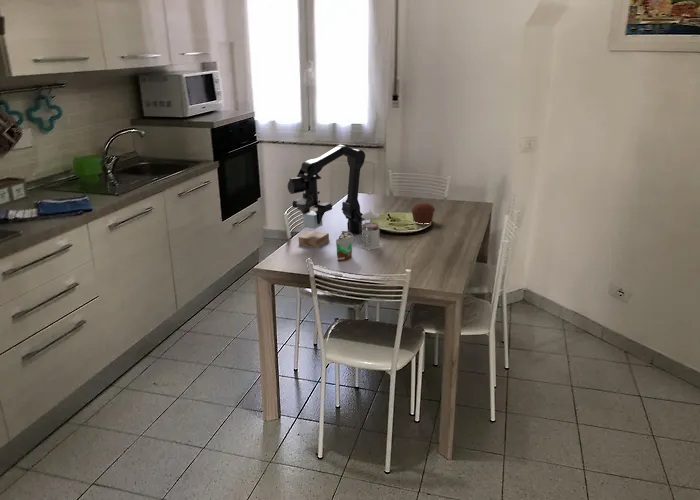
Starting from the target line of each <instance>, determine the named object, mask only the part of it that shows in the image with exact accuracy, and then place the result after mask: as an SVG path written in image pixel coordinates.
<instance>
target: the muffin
mask: <svg viewBox="0 0 700 500" xmlns="http://www.w3.org/2000/svg"><path fill="white" fill-rule="evenodd" d="M410 209H411V210H410V211H411V213H412V219H413V220H412V221H413V222H414V221H415V222H418V223H423V224H424V223H430V222H431V223H432V222H433V219H434V218H433V217H434V214H435V211H436V209H435V206H433V204H432V203H429V202H427V201H420V202H417V203H415V204H413V205H412V208H410Z"/></svg>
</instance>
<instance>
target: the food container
mask: <svg viewBox="0 0 700 500" xmlns="http://www.w3.org/2000/svg"><path fill="white" fill-rule="evenodd" d="M354 240H355V238H354V235H353V234H352V233H350V232H348V230H341V234H340V235H339V237H338V238H337V239H335V245H336V257H337V262H346V261H348V260H351V259H352V256H353V255H352V254H353V241H354Z"/></svg>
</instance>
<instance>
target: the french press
mask: <svg viewBox="0 0 700 500" xmlns="http://www.w3.org/2000/svg"><path fill="white" fill-rule="evenodd" d="M372 194H373V191H368V192H367V195H372ZM371 211H372V210H369V211H368V212H365V213H362V214H363V215H362V216H361V217H362V220H363V219H364V221H369V222H364V223H362V232H361V235H362V236H361V237H362V240H361V241H362V242H361V243H360V245H359V247H360V248H361V249H364V250H377V249H380V248H381V247H382V246H383V244H382V243H380V241H381V240H380V227H379V224H378V223H377V222H372V221H373V220H376V219H377V220H378V219H379V218H380V215H379V214H378V213H376V212H371Z"/></svg>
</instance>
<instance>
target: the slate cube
mask: <svg viewBox="0 0 700 500" xmlns="http://www.w3.org/2000/svg"><path fill="white" fill-rule="evenodd" d="M315 211H316V210H310V212H307V213H305V214H303V213H302V216H303V227H304V228H309V229H314V230H315V229H317V228H320V227H322V226H323V219H322V220H321V222H320V224H319V225H318V223H317V214H316V213H315Z"/></svg>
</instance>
